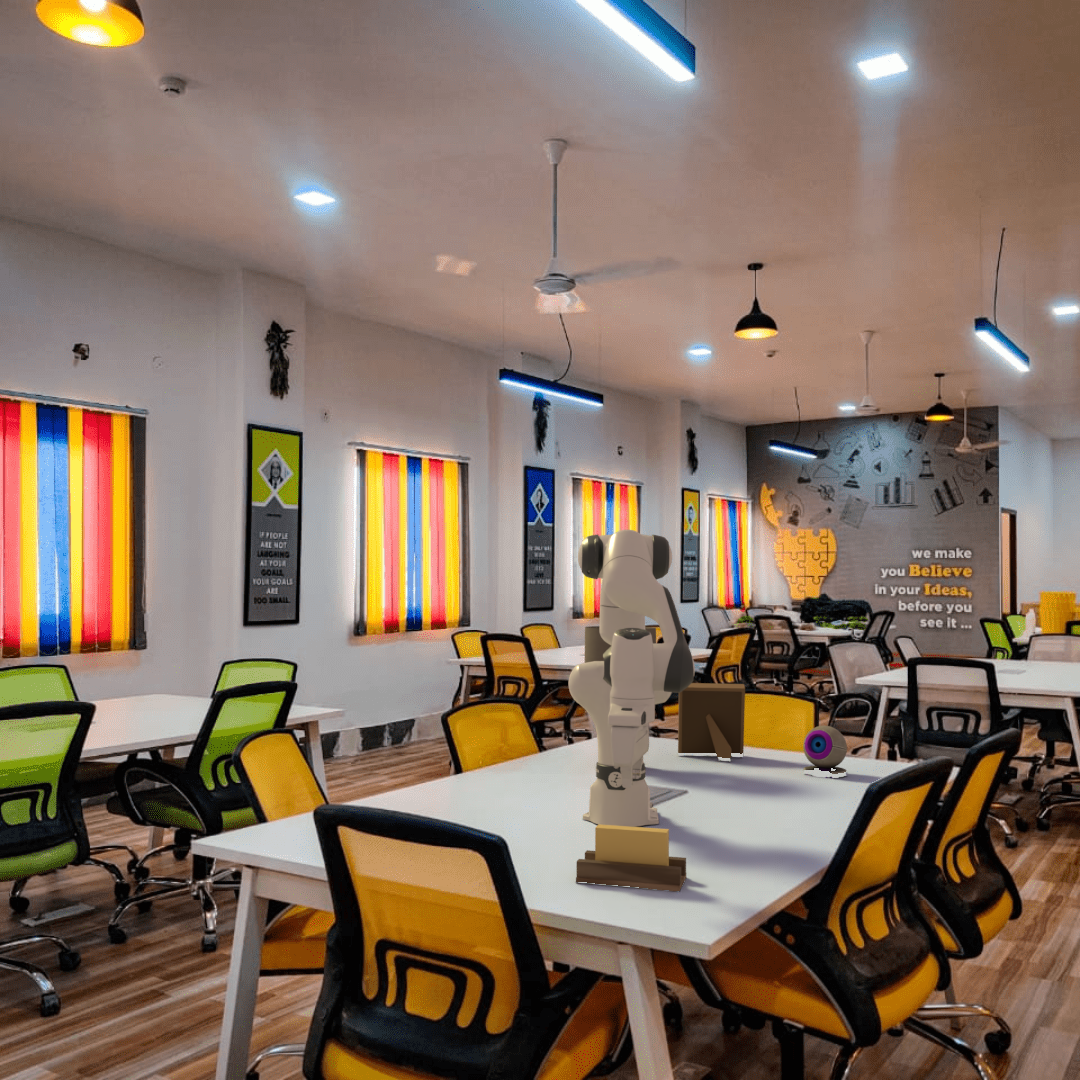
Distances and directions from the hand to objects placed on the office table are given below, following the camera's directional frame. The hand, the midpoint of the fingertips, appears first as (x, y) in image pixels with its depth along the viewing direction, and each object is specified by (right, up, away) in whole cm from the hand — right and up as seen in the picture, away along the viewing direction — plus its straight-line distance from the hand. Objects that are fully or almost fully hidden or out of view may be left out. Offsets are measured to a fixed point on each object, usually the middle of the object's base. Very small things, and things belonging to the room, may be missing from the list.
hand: (631, 782), depth 205 cm
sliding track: (0, -19, -1) cm, 19 cm away
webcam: (+70, -25, +117) cm, 139 cm away
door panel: (0, -18, -1) cm, 18 cm away
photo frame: (+40, -26, +147) cm, 154 cm away
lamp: (+7, -25, +127) cm, 130 cm away
